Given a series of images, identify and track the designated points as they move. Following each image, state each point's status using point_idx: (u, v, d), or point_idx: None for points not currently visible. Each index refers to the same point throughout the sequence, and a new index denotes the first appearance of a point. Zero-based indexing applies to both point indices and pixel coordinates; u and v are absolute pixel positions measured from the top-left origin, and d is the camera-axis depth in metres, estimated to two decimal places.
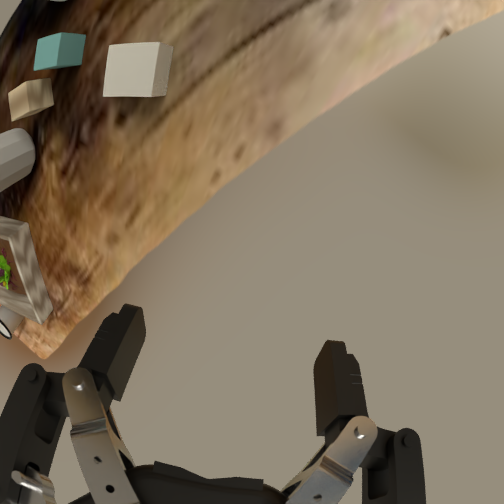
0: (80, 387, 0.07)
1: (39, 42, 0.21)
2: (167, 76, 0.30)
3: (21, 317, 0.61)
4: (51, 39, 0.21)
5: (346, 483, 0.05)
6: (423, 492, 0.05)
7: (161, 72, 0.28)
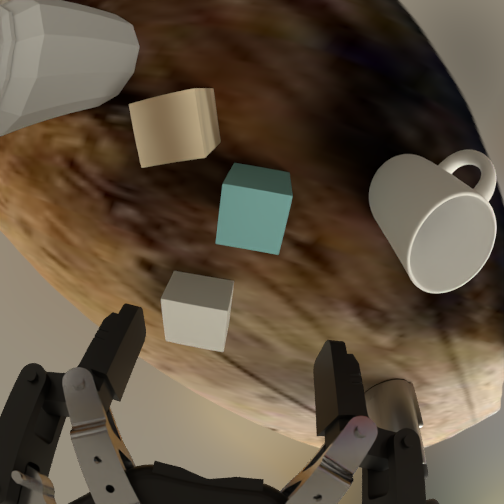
0: (80, 387, 0.07)
1: (282, 200, 0.20)
2: None
3: None
4: (273, 234, 0.21)
5: (346, 483, 0.05)
6: (423, 492, 0.05)
7: None
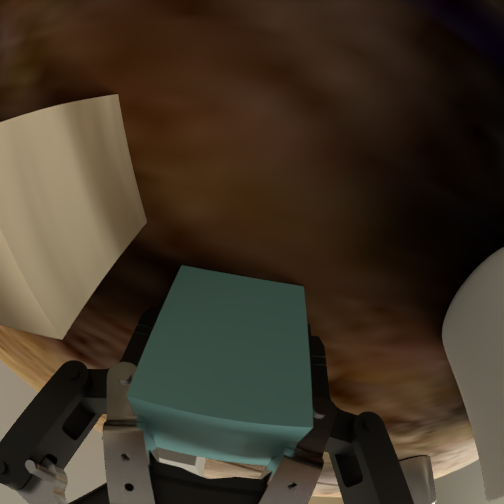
0: (127, 382, 0.08)
1: (286, 432, 0.07)
2: None
3: None
4: (262, 455, 0.08)
5: (317, 466, 0.06)
6: (400, 472, 0.06)
7: None
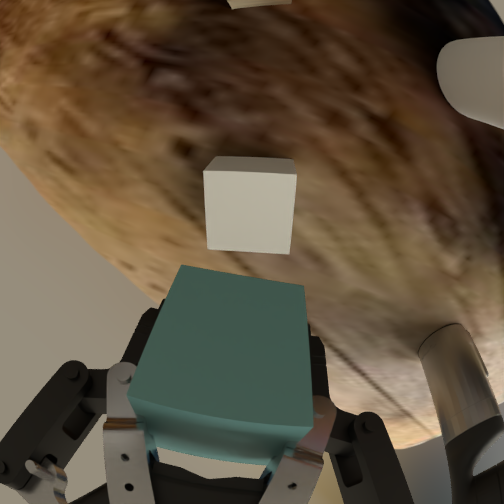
0: (128, 382, 0.08)
1: (286, 431, 0.07)
2: None
3: None
4: (262, 455, 0.08)
5: (317, 466, 0.06)
6: (400, 472, 0.06)
7: None
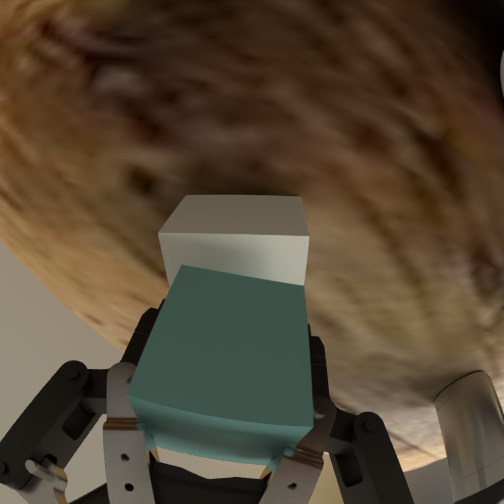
0: (127, 382, 0.08)
1: (286, 431, 0.07)
2: None
3: None
4: (262, 454, 0.08)
5: (317, 466, 0.06)
6: (400, 472, 0.06)
7: None
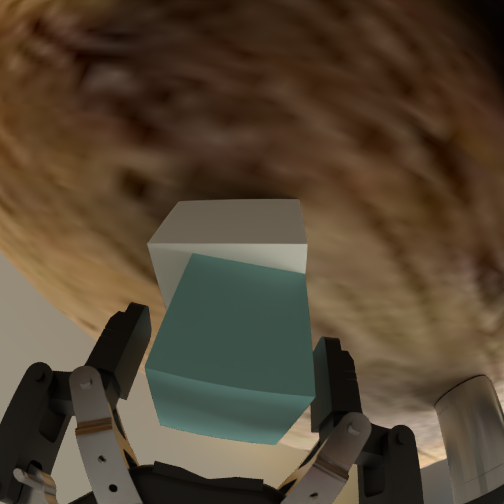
0: (87, 385, 0.07)
1: (290, 402, 0.08)
2: None
3: None
4: (266, 431, 0.09)
5: (342, 480, 0.05)
6: (419, 489, 0.05)
7: None
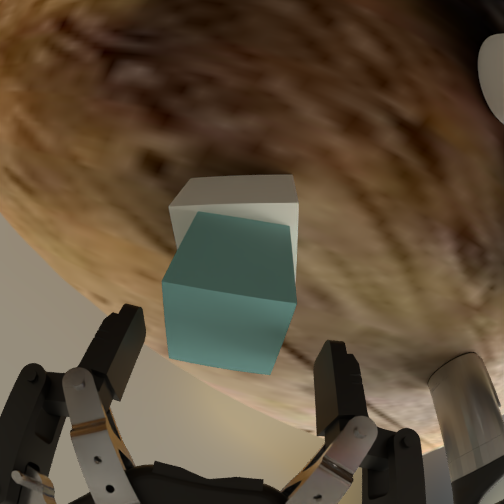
0: (80, 387, 0.07)
1: (277, 310, 0.10)
2: None
3: None
4: (261, 353, 0.12)
5: (346, 483, 0.05)
6: (423, 492, 0.05)
7: None
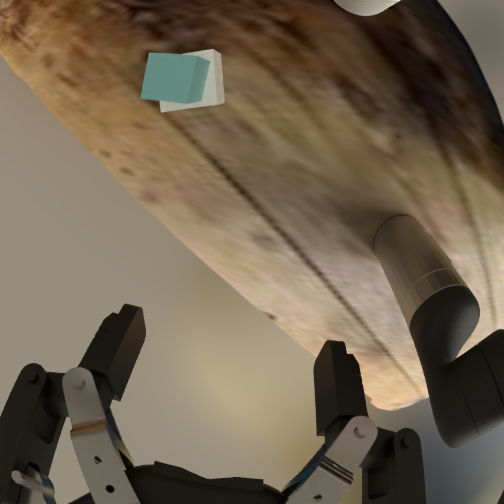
0: (80, 387, 0.07)
1: (189, 59, 0.21)
2: None
3: None
4: (182, 86, 0.23)
5: (346, 483, 0.05)
6: (423, 492, 0.05)
7: None
